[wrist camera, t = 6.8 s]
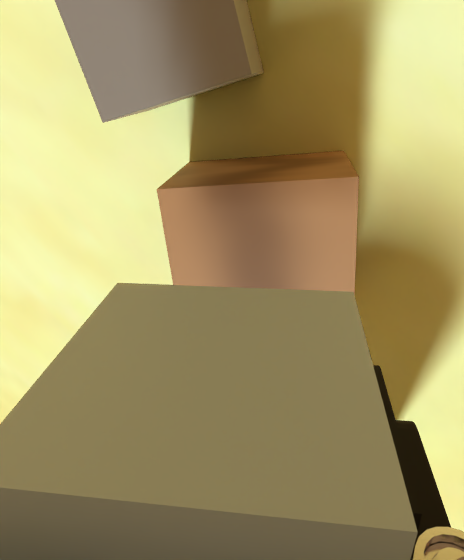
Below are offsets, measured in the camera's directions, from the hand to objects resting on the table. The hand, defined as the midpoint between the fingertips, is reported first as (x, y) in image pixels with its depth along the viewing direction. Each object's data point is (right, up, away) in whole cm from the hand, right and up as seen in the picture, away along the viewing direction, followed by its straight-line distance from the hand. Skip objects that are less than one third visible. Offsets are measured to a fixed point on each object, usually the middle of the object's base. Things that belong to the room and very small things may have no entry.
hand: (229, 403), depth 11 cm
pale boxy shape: (0, 0, +1) cm, 1 cm away
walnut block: (+2, +6, +12) cm, 14 cm away
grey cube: (-2, +15, +9) cm, 18 cm away
